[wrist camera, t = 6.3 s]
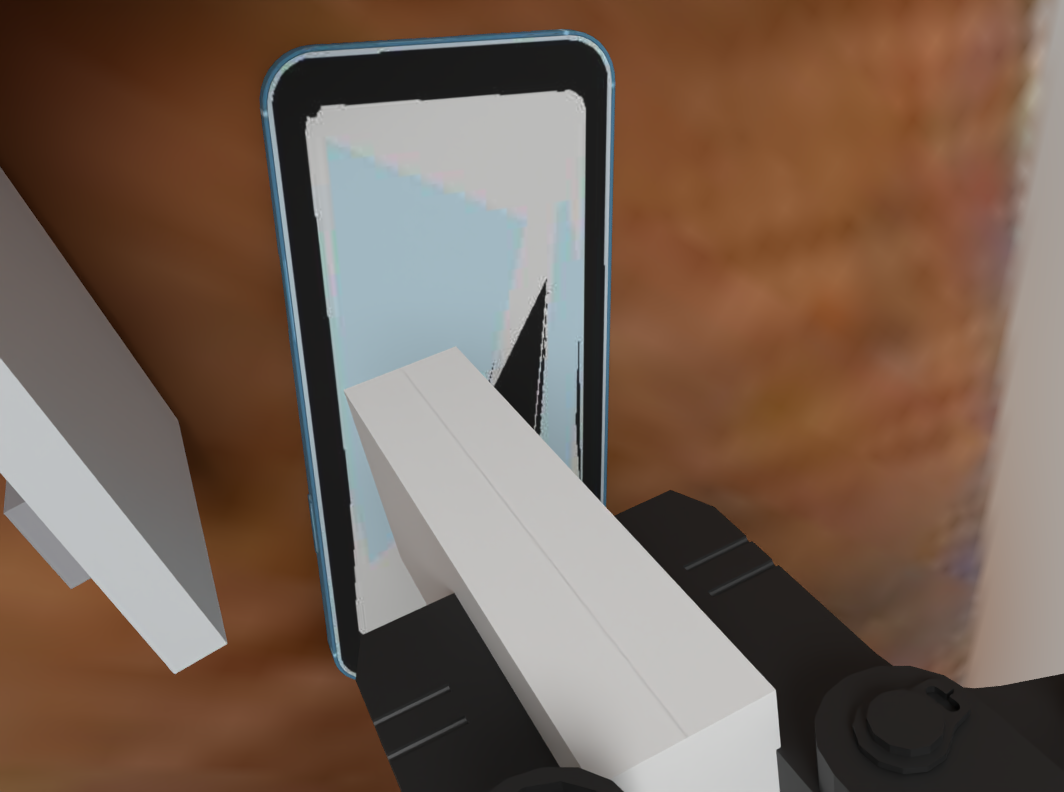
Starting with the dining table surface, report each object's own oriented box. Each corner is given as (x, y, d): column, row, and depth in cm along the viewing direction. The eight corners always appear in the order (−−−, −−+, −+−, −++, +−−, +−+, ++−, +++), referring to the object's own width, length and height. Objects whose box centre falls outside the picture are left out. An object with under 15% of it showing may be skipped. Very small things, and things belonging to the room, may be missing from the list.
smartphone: (618, 27, 20) (605, 615, 27) (598, 23, 21) (590, 595, 28) (252, 50, 18) (336, 692, 25) (244, 45, 19) (327, 667, 25)
